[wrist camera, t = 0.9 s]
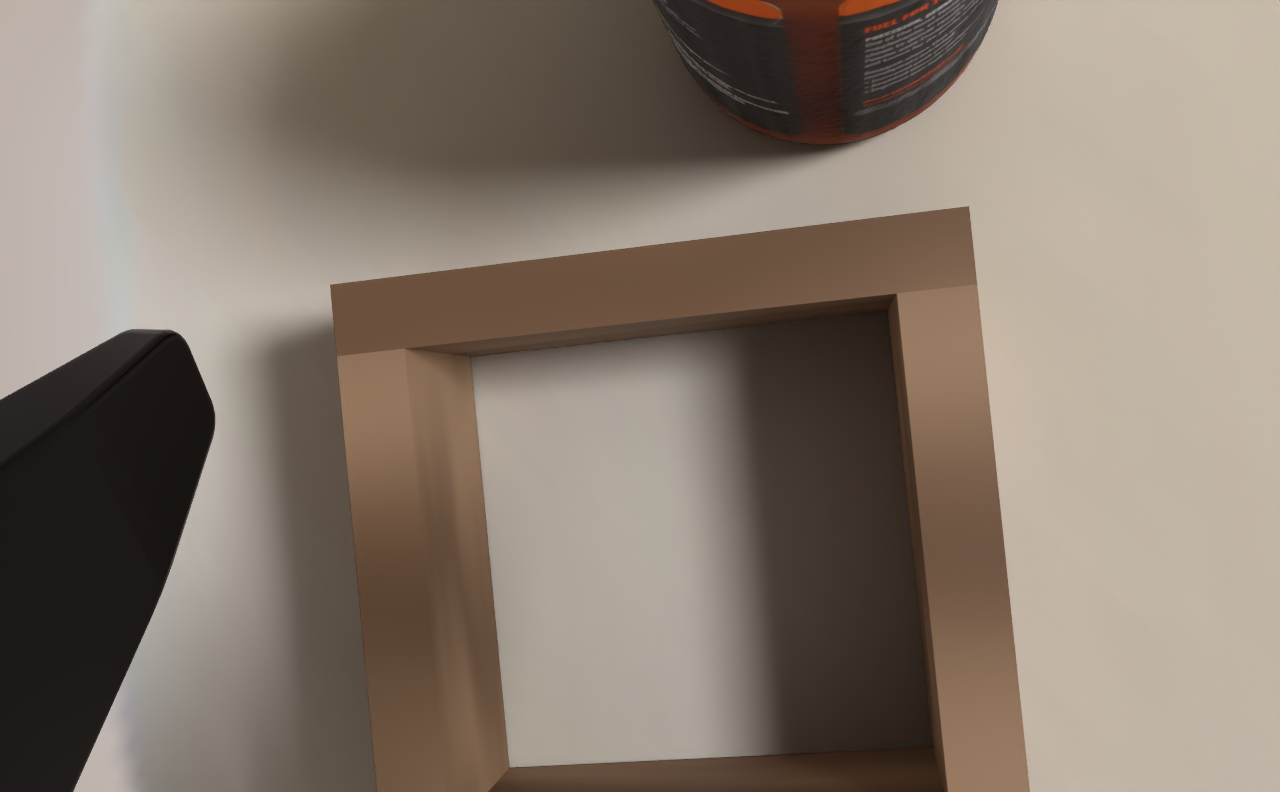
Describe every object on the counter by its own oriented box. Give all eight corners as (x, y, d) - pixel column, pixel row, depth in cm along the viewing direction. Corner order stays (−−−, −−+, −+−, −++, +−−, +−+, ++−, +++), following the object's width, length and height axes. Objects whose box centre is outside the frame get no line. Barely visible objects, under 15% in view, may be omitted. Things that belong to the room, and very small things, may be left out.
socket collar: (1007, 810, 21) (1040, 890, 18) (456, 832, 23) (387, 909, 19) (948, 238, 21) (969, 206, 18) (406, 302, 23) (329, 284, 20)
